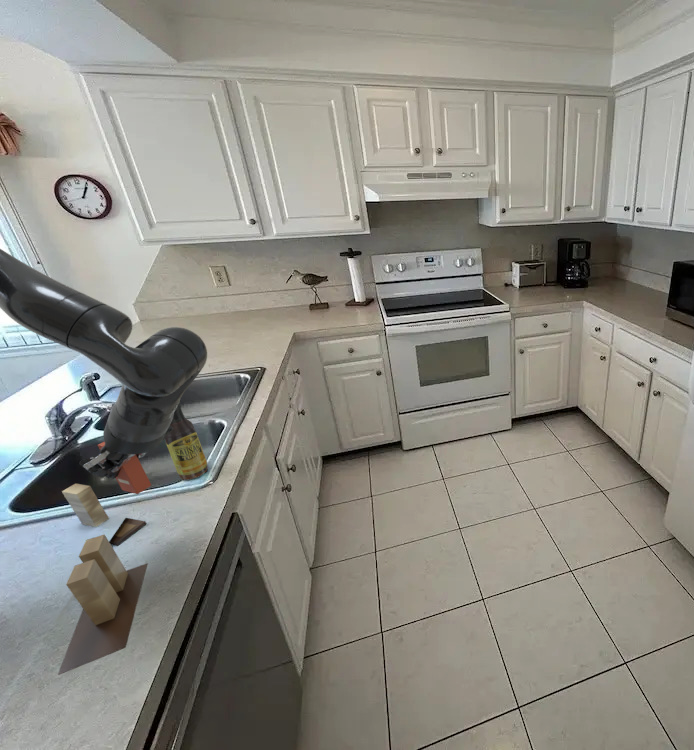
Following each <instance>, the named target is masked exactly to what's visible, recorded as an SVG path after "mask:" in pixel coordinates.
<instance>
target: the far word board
mask: <svg viewBox="0 0 694 750" xmlns="http://www.w3.org/2000/svg"><path fill="white" fill-rule="evenodd" d="M61 493H62V495H63V496H64V498H65V499H66V501H67V502H68V504H69V506H70V507H71V510H73V513H74V514H75V515H76V517H77V519H78V520H79V521H80V524H81V525H84V526H88V527H92V528H93V527H94V528H98V527H99V526H100V525H102V524H103V523H105V522H107V521H108V520H110V517H109V516H108V514H107V512H106V511H105V509H104V508H103V506H102V504H101V502H100V501H99V499H98V497H97V495H96V494H95V492H94V490H93V488H92V486H91V485H87V484H80V483H74V484H72V485H70V486H69V487H67V488H65V489H64V490H61ZM146 525H147V522H146V521H145V520H141V519H135V518H130V517H125V518H124V519H123V520H122V522H121V524H120V525H119V527H117V529H116V531H115V532H114V534H113V535H112V537H111V538H110V540H108V541H109V543H110V544H111V546H117V547H118V546H120V545H121V544H122V543H124V542H126V540H128V539H129V538H130V537H132V536H133V535H134V534H136V532H138V531H139V530H141V529H142V528H143V527H145V526H146Z"/></svg>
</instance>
